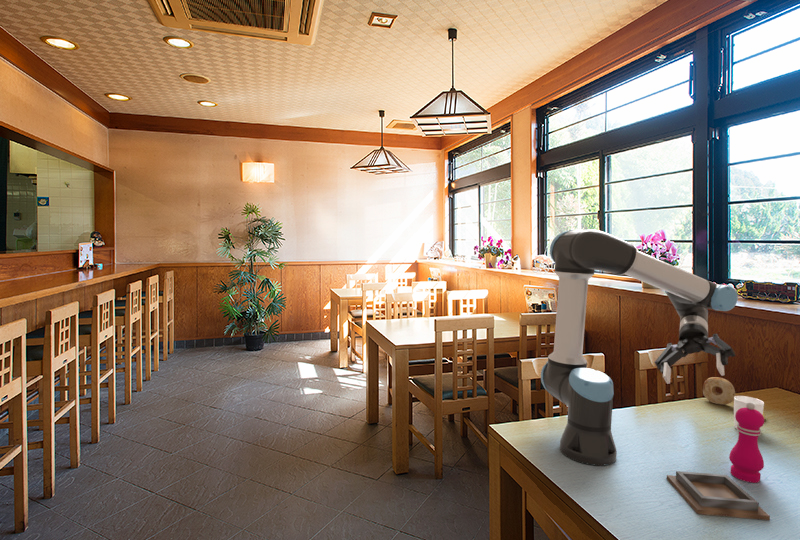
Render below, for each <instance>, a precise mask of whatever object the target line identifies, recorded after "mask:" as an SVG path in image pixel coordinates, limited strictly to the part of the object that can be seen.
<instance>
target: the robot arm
mask: <svg viewBox="0 0 800 540" xmlns="http://www.w3.org/2000/svg"><path fill="white" fill-rule="evenodd" d="M549 255H550V257H551V259H552V261H553V262H554V273H555V274H556V276H557V277H558V287H557V288H558V290H557V291H558V292H557V303H556V314H555V326H554V327H555V330H554V343H553V351H552V352H551V353H550V354H548V356H547V361H546V362H545V364H543V366H542V368H541V371H540V381H541V384H542V386H543V388H544V389H545V390H546V392H547V393H548V394H550V396H552V397H554V398H555V399H557V400H559V401H560V402H561V403H563V404H564V405H565V406H567V422H566V423H567V424H566V426H565V428H564V430H563V433H562V435H561V438H560V441H559V450H560V452H561V453H562V454H563V455H564V456H565V457H567V458H569V459H571V460H573V461H575V460H576V461H575V462H578V461H579V462H578V463H581V462H583V463H582V464H585V463H588V464H587V465H590V464H595V465H594V466H605V465H604V464H609V465H612V464H614V463H615V462H616V461H617V447H616V443H615V439H614V436H613V433H612V420H613V402H614V401H613V399H614V395H615V393H614V392H615V391H614V382H613V379H611V377H610V376H608V375H607V373H604V372H603V371H600V370H595V369H594V368H590V367H588V360H587V359H586V357H584V355H583V350H584V339H585V338H584V337H585V329H586V328H585V325H586V316H587V315H586V314H587V313H586V312H587V300H588V299H587V298H588V289H589V288H588V287H589V280H590V279H591V278H592V277H593V276H594V275H595V270H596V271H602V272H608V273H610V274H613V275H616V276H623V275H625V276H628V277H630V278H632V279H635V280H637V281H640V282H643V283H645V284H648V285H650V286H652V287H654V288H658V289H660V290H663V291H664V293H665V294H666V295H667V297H668V299H669V300H670V302H671V304H672V306H673V307H674V309H675V311H676V313H677V314H678V316H679V329H678V342H677V344H673V343H672V342H669V343H667V345H666V348H665V349H664V350H663V351H662V352H661V354H659V356H658V357H657V358H656V359H655V360H654V364H655V366H656V368H657V370H660V373H661V374H662V378H663V379H664V381H665V382H666V384H667V385H668V384H671V375H672V368H671V367H672V366H674V365H675V364H676V363H677V362H679V360H680V359H682V358H685V357H687V356H688V355H691V354H692V355H693V354H696V353H701V352H704V353H707V354H711V355H713V356H715V358H716V369H717V371H718V373H719V374H720V377H721V376H725V366H727V365H729V364H728V363H729V361H728V359H729V357H732V358H733V357H734V358H735V356H736V353H735V351H734V349H733V347H732V346H730V345H729V344H728V343H727V342H725V341H724V340H722V339H721V338H720V336H719V334H717V333H713V334H712V336H711V337H709V323H708V322H709V310H714V311H716V312H717V311H720V312H730V311H731V310H732V309H734V308H735V307H736V305H737V303H738V301H739V299H738V297H739V295H738V291H737V290H736V289H735V288H734V287H732V286H729V285H725V284H718V283H714V281H713V282H712V281H710V280H709V279H708V280H707V279H705V278H703V277H701V276H698V275H696V274H693V273H691V272H689V271H686V270H684V269H682V268H679V267H677V266H675V265H672V264H670V263H667V262H666V261H663V260H661V259H658V258H656V257H655V256H653V255H652V256H651V255H649V254H646V253H644V252H642V251H639V250H638V249H637V247H636V245H634V244H633V243H630V242H628V241H625V240H623V239H621V238H619V237H617V236H614V235H613V234H610V233H607V232H605V231H602V230H598V229H569V230H565V231H562V232H559V234H557V235H556V236H554V238H553V240H552V241H551V243H550V245H549ZM708 309H709V310H708ZM711 343H712V344H711ZM713 344H714V345H713ZM716 345H717V346H716ZM613 462H614V463H613ZM611 463H612V464H611Z"/></svg>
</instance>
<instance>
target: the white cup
mask: <svg viewBox="0 0 800 540" xmlns="http://www.w3.org/2000/svg"><path fill="white" fill-rule="evenodd" d="M747 403H753V404H754V405H755V408H754V409H755V410H757V411H759V412H760V413H761V414H762V415H763V412H764V407H765V402H764V401H763V400H761V399H758V398H755V397H752V396H747V395H746V396H745V395H735V397H734V401H733V421H734V422H733V427H734V428H735V429H736V430H737V424H739V423H738V422H737V420H736V418H735V415H736V412H737V411H738V410H739V409H740V408H747V407H746V404H747Z"/></svg>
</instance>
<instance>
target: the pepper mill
mask: <svg viewBox="0 0 800 540" xmlns="http://www.w3.org/2000/svg"><path fill="white" fill-rule="evenodd" d="M746 407H747V408H740V409H739V410H738V411H737V412H736V415H735V418H736V420H737V422H738V423H739V424H737V429H736V431H737V432H738V437H737V442H736V443H735V445H734V446H733V447H732V448H731V450H730V453H729V457H728V458H729V461H730V462H731V464H732V465H730V475H732V477H734V478H736V479H738V480H741V481H743V482H747V483H753V484H756V483H760V482H761V471H762V470H763V469H764V468H765V465H764V464H765V463H764V462H765V461H764V458H763V454H762V453H761V451H760V447H759V445H758V439H759V437H760V436H761V435H762V433H761V432H762V429H761V428H762V427H763V426H764V425H765V419H764V417H763V415H762V414H761V413H760V412H759V411H757V410H755V409H754V408H755V405H754V404H753V403H747V404H746Z"/></svg>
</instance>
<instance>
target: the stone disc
mask: <svg viewBox="0 0 800 540" xmlns="http://www.w3.org/2000/svg"><path fill="white" fill-rule="evenodd" d="M717 388H719V389H721V392H720V393H719V392H717V391H716V389H717ZM702 394H703V397H705V399H706V400H708V401H709V402H710V403H713V404H716V405H728V404H731V403H732V402H733V403H734V397H735V396H736V391H735V387H734V385H733V384H732V382H730V381H729V380H728V379H725V378H723V377H721V376H720V377H718V376H715V377H714V376H712V377H708V378H707V379H705V381H704V382H703V386H702Z"/></svg>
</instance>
